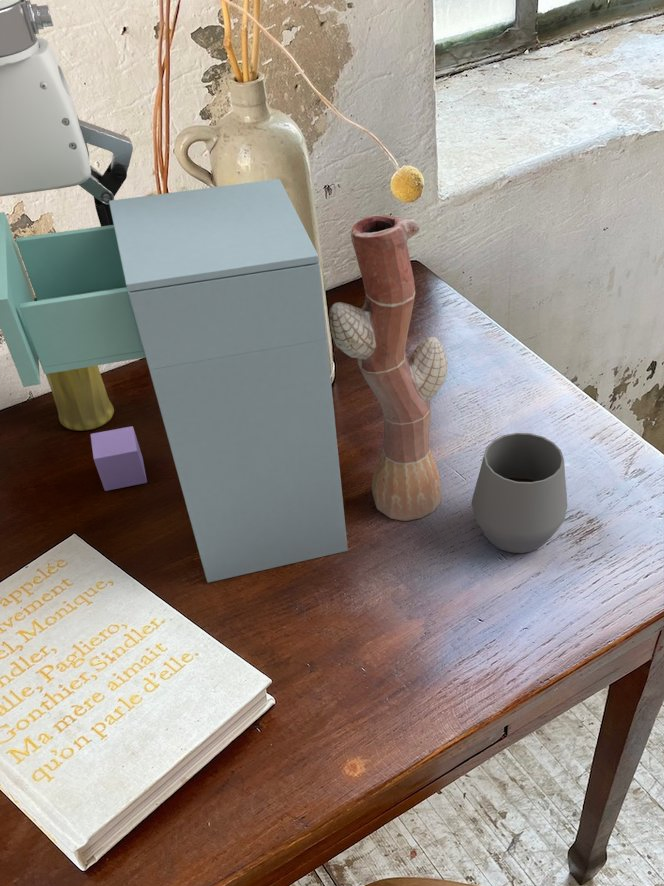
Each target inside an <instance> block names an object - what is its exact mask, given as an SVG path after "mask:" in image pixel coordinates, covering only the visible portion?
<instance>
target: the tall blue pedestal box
mask: <svg viewBox="0 0 664 886" xmlns="http://www.w3.org/2000/svg"><path fill="white" fill-rule="evenodd" d="M109 204H110V209H111V214H112V219H113V224H114V229H115V233H116V238H117V243H118V248H119V253H120V257H121V262H122V267H123V272H124V277H125V282H126V286H127V290H128V293H129V297H130V301H131V304H132V308H133V312H134V315H135V319H136V323H137V326H138V330H139V334H140V337H141V341H142V345H143V348H144V352H145V356H146V357H145V359H146V363H147V366H148V370H149V375H150V377H151V382H152V385H153V389H154V392H155V396H156V399H157V403H158V407H159V411H160V414H161V419H162V422H163V425H164V429H165V433H166V436H167V440H168V444H169V448H170V451H171V455H172V458H173V462H174V465H175V469H176V472H177V476H178V477H177V478H178V481H179V484H180V488H181V491H182V495H183V499H184V502H185V505H186V510H187V513H188V517H189V521H190V523H191V524H190V525H191V528H192V532H193V536H194V539H195V543H196V546H197V550H198V553H199V558H200V561H201V565H202V568H203V573H204V577H205V579H206V583H207V584H209V583H212V582H218V581H221V580H222V581H223V580H226V579H230V578H235V577H239V576H244V575H247V574H248V575H249V574H252V573H258V572H261V571H266V570H270V569H274V568H279V567H283V566H288V565H292V564H296V563H301V562H306V561H310V560H313V559H319V558H323V557H328V556H332V555H335V554H340V553H345V552H348V550H349V548H348V540H347V538H348V537H347V529H346V520H345V509H344V498H343V489H342V479H341V468H340V459H339V458H340V457H339V449H338V439H337V438H338V437H337V428H336V427H337V426H336V418H335V408H334V407H335V406H334V398H333V387H332V377H331V367H330V359H329V348H328V338H327V328H326V317H325V308H324V296H323V285H322V277H321V267H320V257H319V254H318V252H317V250H316V248H315V246H314V244H313V242H312V240H311V238H310V236H309V234H308V232H307V230H306V228H305V226H304V224H303V223H302V220H301V218H300V216H299V214H298V213H297V210H296V208H295V207H294V204H293V202H292V200H291V198H290V197H289V194H288V193H287V191H286V188H285V187H284V185H283V183H282V181H281V179H280V178H274V179H267V180H260V181H253V182H245V183H237V184H230V185H221V186H212V187H206V188H205V187H204V188H199V189H189V190H182V191H175V192H173V191H172V192H165V193H158V194H152V195H144V196H135V197H128V198H127V197H126V198H120V199H114V200H111V201H109Z"/></svg>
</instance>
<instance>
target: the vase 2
mask: <svg viewBox="0 0 664 886" xmlns="http://www.w3.org/2000/svg"><path fill="white" fill-rule="evenodd" d="M419 231H420V226H419V224H418V222H416V220H415V219H413V218H403V217H396V216H391V215H385V214H371V215H369V216H366V217H363V218H361V219H360V220H359V221H357V222H356V223H354V224H353V226H352V229H351V232H350V233H351V235H350V238H351V243H352V246H353V251H354V252H355V257H356V261H357V265H358V268H359V272H360V275H361V278H362V282H363V288H364V293H365V296H364V302H363V304H362V306H361V308H360V307H358V306H354V305H352V304H350V303H345V302H341V301H338V302H334V303H333V304H332V305H331V306H330V308H329V313H328V316H329V317H328V318H329V319H328V320H329V327H330V328H329V329H330V333H331V337H332V339H333V341H334V344H335V346H336V348H337V349H339V350H340V351H341V352H343V353H344V354H345V355H347V356H348V357H350V358H352V359H353V358H354V359H356V360H357V364H358V368H359V371H360V372H361V374H362V376H363V378H364V380H365V382H366V383H367V385H368V387H369V388H370V390H371V391H372V393H373V395H374V396H375V397H376V400H377V402H378V403H379V405H380V407H381V410H382V415H383V425H384V426H383V431H384V432H383V444H382V450H381V453H380V455H379V457H378V460H377V463H376V466H375V468H374V472H373V475H372V479H371V494H372V498H373V501H374V505H375V509H376V510H377V511H378V512H380V513H382V514H383V515H384V516H386V517H388V518H389V519H391V520H395V521H402V522H408V521H414V520H419V519H423V518H424V517H426V516H428V515H431V514H432V513H434V511H435V510H436V509H437V508H438V507H439V505H440V503H442V490H441V478H440V473H439V469H438V466H437V463H436V460H435V459H434V456H433V454H432V451H431V447H430V428H431V418H432V417H431V416H432V415H431V414H432V409H431V402H430V401H431V400H432V399H433V397H434V396H436V394H438V392H439V391H440V390H441V388H442V386H443V385H444V383H445V381H446V378H447V375H448V359H447V354H446V351H445V348H444V346H443V343H441V342H440V341H439V339H438V338H437V337H435V336H431V337H430V336H429V337H426V338H425V339H424V340H422V341H421V342H420V343H419V344H418V345H417V346H416V348H415V349H414V350H413V352H412V353H411V354H410V355H409V357H407V354H406V352H407V341H408V335H409V329H410V323H411V319H412V313H413V309H414V303H415V298H416V286H415V285H416V284H415V278H414V273H413V268H412V263H411V259H410V253H409V248H408V240H409V239H411V238H413V236H415V235H417V233H418V232H419Z"/></svg>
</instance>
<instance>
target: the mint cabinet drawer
mask: <svg viewBox="0 0 664 886" xmlns="http://www.w3.org/2000/svg"><path fill="white" fill-rule="evenodd" d="M12 231H13V230H12V229H11V226H10V223H9V220H8V217H7V215H6V212H4V211H2V212H0V332H1V334H2V336H3V339H4V341H5V344H6V346H7V349H8V352H9V354H10V356H11V359H12V362H13V364H14V366H15V369H16V371H17V374H18V377H19V379H20V381H21V384H22V386H23V388H26V387H27V388H28V387H31V386H33V387H34V386H37V385H41V374H40V373H41V372H40V366H41V369H42V372H43V374H44V375H46V374H49V373H55V372H61V371H67V370H73V369H79V368H85V367H91V366H103V365H107V364H109V365H110V364H114V363H120V362H125V361H132V360H138V359H143V358H146V356H145V352H144V348H143V345H142V341H141V337H140V334H139V330H138V326H137V323H136V319H135V315H134V312H133V308H132V304H131V301H130V297H129V293H128V290H127V286H126V282H125V277H124V272H123V267H122V262H121V257H120V253H119V248H118V243H117V238H116V233H115V229H114V225H109V226H101V225H100V226H95V227H94V226H93V227H87V228H79V229H74V230H73V229H72V230H65V231H64V230H63V231H58V232H57V231H56V232H50V233H43V234H35V235H28V236H21V237H20V236H19V237H14V234H13V232H12ZM34 295H35V296H36V299H37V301H34Z"/></svg>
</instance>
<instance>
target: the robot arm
mask: <svg viewBox="0 0 664 886" xmlns="http://www.w3.org/2000/svg"><path fill="white" fill-rule="evenodd" d="M47 27H54V23H53V19H52V15H51V12H50V9H49V5H48V4H44V5H38V4H37V3H32V2H31V0H0V198H1V197H8V196H15V195H22V194H23V195H24V194H30V193H38V192H39V193H40V192H44V191H45V192H46V191H52V190H60V189H66V188H73V187H76V186H79V187H80V188H82V189H83V190H85V191H86V192H87V193H88V194H90V195H91V196H92V197H93V201H94V207H95V211H96V215H97V218H98V221H99V225H100V227H101V226H109V225H114V224H113V219H112V214H111V209H110V204H109V201H111V200H115V196H116V195H117V194H118V192H119V190H120V189H121V187H122V186H123V184H124V182H125V181H126V179H127V177H128V170H129V167H130V164H131V158H132V155H133V150H134V146H133V143H132V140H131V139H130V138H129V136H126V135H123V134H121V133H118V132H115V131H113V130H109V129H107V128H104V127H101V126H100V125H99V126H98V125H95V124H93V123H89V122H87V121H85V120H82V119H80V117H79V115H78V112H77V109H76V105H75V103H74V100H73V97H72V95H71V91H70V88H69V85H68V82H67V80H66V77H65V75H64V71H63V70H62V68H61V65H60V63H59V61H58V59H57V56H56V54H55V52H54V50H53V48H52V46H51V44H50V42H49V41H48V39H47V38H44V37H38V36H37V35H39V34H40V30H44V28H47ZM88 145H91V146H94V147H97V148H100V149H103V150H105V151H108V152H111V153H112V158H111V161H110V163H109V165H108V166H107V168H106V170H105V171H104V173H103V174H102V172H100V171H98V170H97V169H96V168H95V167H94V166H92V165H91V163H90V151H89V148H88Z"/></svg>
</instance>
